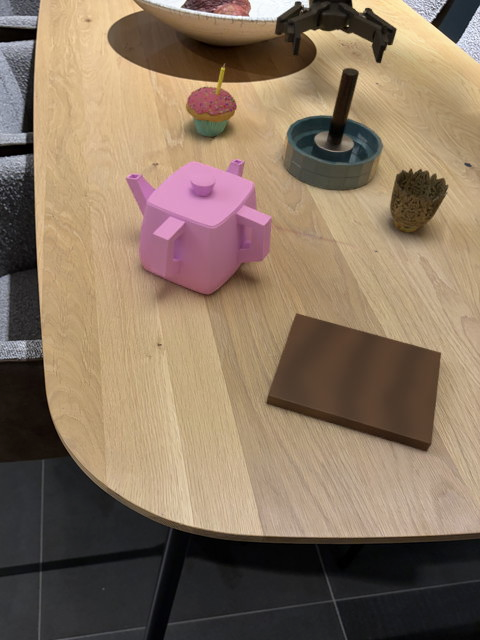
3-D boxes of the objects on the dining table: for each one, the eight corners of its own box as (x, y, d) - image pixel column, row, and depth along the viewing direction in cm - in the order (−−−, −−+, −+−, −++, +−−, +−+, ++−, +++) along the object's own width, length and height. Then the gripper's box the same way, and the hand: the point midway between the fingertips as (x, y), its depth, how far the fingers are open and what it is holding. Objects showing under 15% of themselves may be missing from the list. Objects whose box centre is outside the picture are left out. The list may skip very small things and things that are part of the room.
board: (436, 360, 74) (441, 352, 73) (426, 451, 65) (431, 443, 64) (294, 321, 77) (296, 312, 76) (266, 403, 68) (268, 395, 67)
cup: (384, 209, 94) (400, 162, 88) (432, 221, 92) (451, 175, 86) (375, 236, 89) (391, 188, 83) (425, 249, 88) (445, 202, 82)
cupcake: (242, 129, 107) (250, 59, 98) (216, 148, 103) (222, 76, 93) (202, 113, 110) (206, 44, 101) (175, 131, 105) (177, 60, 96)
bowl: (380, 154, 104) (388, 127, 100) (366, 202, 95) (375, 173, 91) (293, 135, 107) (298, 107, 103) (272, 180, 97) (276, 151, 94)
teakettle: (153, 307, 77) (153, 226, 68) (125, 227, 87) (121, 148, 78) (277, 286, 81) (293, 208, 71) (235, 212, 91) (245, 135, 82)
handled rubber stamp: (351, 158, 102) (375, 67, 90) (344, 177, 98) (369, 84, 86) (314, 150, 103) (333, 58, 91) (305, 168, 99) (325, 75, 87)
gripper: (391, 30, 114) (408, 81, 100) (259, 18, 114) (258, 67, 100) (403, -15, 108) (423, 32, 94) (265, -28, 108) (265, 18, 94)
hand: (338, 50), depth 97 cm, fingers open, 13 cm apart
